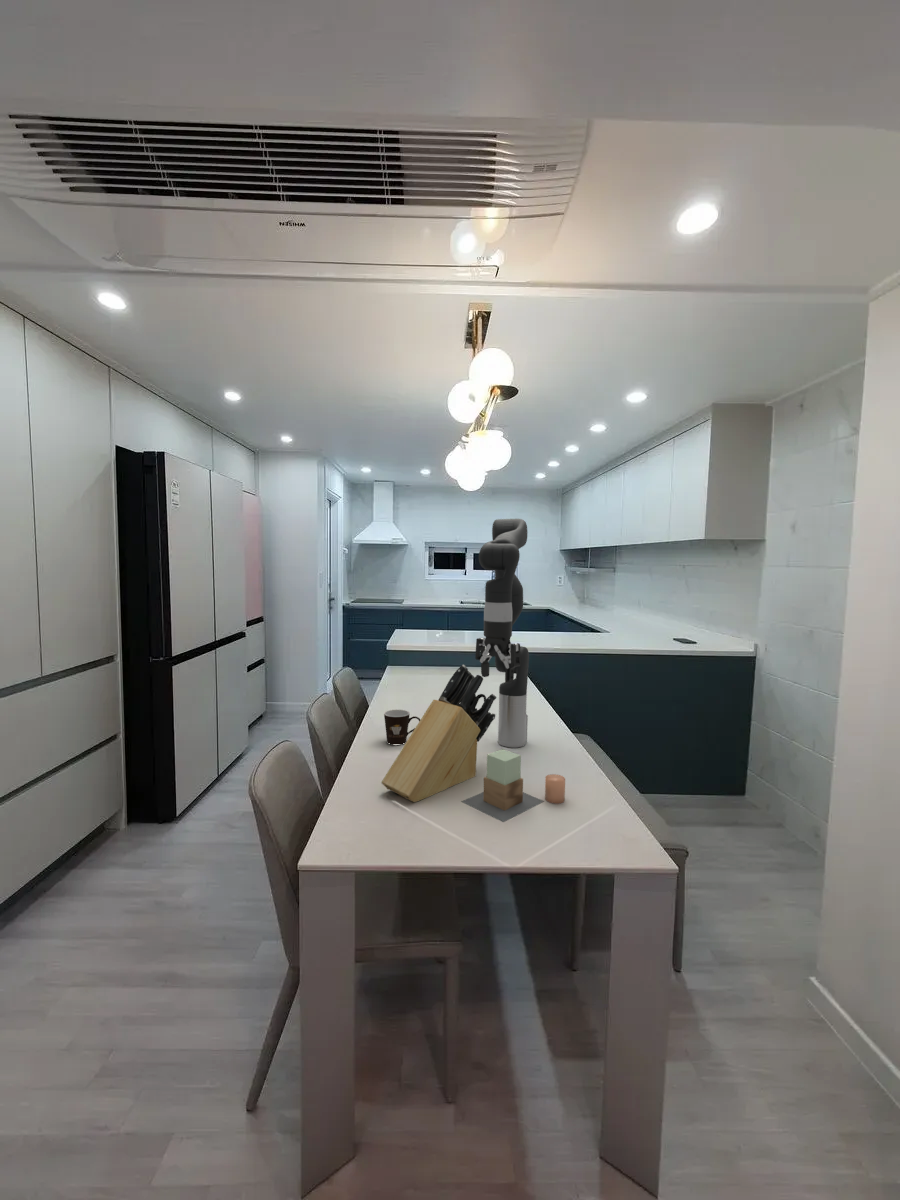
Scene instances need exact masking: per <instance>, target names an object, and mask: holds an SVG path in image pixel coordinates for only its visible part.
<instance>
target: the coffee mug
mask: <svg viewBox="0 0 900 1200" xmlns="http://www.w3.org/2000/svg"><path fill="white" fill-rule="evenodd" d="M383 715H384V724H385V725H384V727H385V733H386V734H385V735H386V743H387V742H388V743H390V744H403V743H405V742H407V740H408V736H409V734H412V732H413V731H414V729H415V728H416V727H414V728H413V729H411V730H409V731H408V729H409V724H410V722H411V721H412V720H413V719H415V720H416V719H417V720H418V722H419V721H420V720H421V718H420V717H418V716H411V717H410V711H408V710H406V709H390V710H386V711H384V712H383ZM388 743H387V744H388ZM405 744H406V743H405ZM403 745H404V744H403Z"/></svg>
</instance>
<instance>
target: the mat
mask: <svg viewBox="0 0 900 1200" xmlns="http://www.w3.org/2000/svg"><path fill="white" fill-rule="evenodd" d="M483 796H484V791H483V792H480V793H477V794H475V795H473V796H470V797H468V798H466V799H464V800H461V801H460V802H461V803H462V804H465V805H467V806H469V807H472V808H473V809H475V810H478V811H480V812H482V813H484V814H486V815H488V816H490V817H492V818H493V819H495V820H498V821H500V822H502V823H505V822H507V821H509V820H510V819H512V818H515V817H516V816H518V815H520V814H523V813H524V812H526V811H528V810H530V809H532V808H534V807H536V806H538V805H540V804H543V803H544V802H545V800H543V799H541V798H538V797H536V796H533V795H532V794H528V793H526V792H524V791H523V802H521V803H519V804H517V805H515V806H513V807H511V808H509V809H507V810H505V811H504V810H502V809H500V808H498V807H496V806H494V805H491V804H489V803H487V802H485V801H483Z"/></svg>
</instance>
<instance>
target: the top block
mask: <svg viewBox="0 0 900 1200" xmlns="http://www.w3.org/2000/svg"><path fill="white" fill-rule="evenodd" d="M521 761H522V755H521V754H518V753H515V752H512V751H509V750H507V749H504V748H502V749H499V750H496V751H493V752H491V753H488V754H487V755H486V777H487V778H488V779H491V780H493V781H496V782H498V783H500V784H503V785H507V784H509V783H512V782H514V781H516V780H518V779H520V778H521V768H522V767H521V765H522V762H521Z"/></svg>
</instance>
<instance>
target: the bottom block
mask: <svg viewBox="0 0 900 1200" xmlns="http://www.w3.org/2000/svg"><path fill="white" fill-rule="evenodd" d="M483 792H484V796H483V801H485V802H487V803H489V804H491V805H494V806H496V807H498V808H500V809H502V810H504V811H505V810H507V809H509V808H511V807H513V806H515V805H517V804H519V803H521V802H523V792H524V778H522V777H520V779H518V780H516V781H514V782H512V783H509V784H507V785H503V784H500V783H498V782H496V781H493V780H491V779H488V778H487V776H484V777H483Z"/></svg>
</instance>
